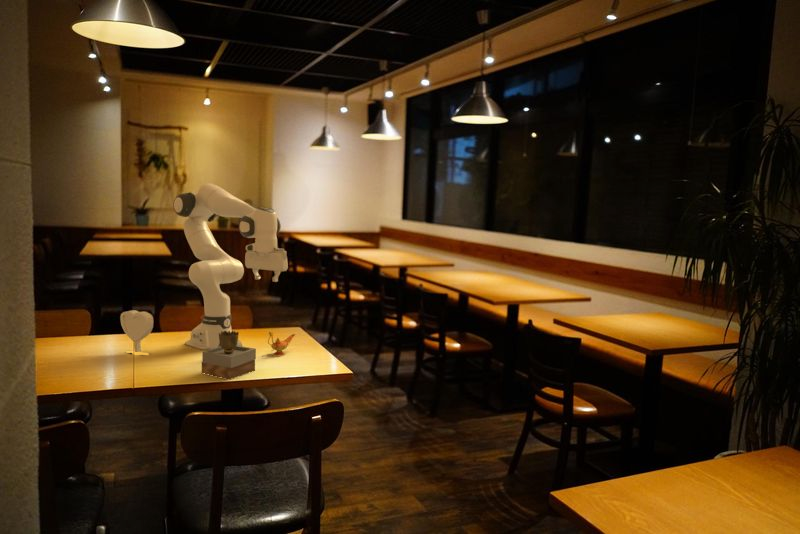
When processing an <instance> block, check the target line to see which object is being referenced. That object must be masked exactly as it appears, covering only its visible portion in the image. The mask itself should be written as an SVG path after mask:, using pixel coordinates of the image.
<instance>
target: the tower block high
mask: <svg viewBox="0 0 800 534" xmlns="http://www.w3.org/2000/svg"><path fill="white" fill-rule="evenodd" d="M233 350H234V351H233V353H230V354H227V353H224V349H223V348H222V347H221V346H220V347H216V348H213V349H206V350H204V351H202V352H201V353H202V361H201V363H202V362H203V363H207V364H212V365H218V366H223V367H228V368H233V367H236V366H238V365H241V364H244V363H247V362H249V361H252V360H255V361H256V359H257V351H256V350H257V348H254V347H249V346H243V345H242V346H236V347H235V348H234V349H233Z"/></svg>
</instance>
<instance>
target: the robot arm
mask: <svg viewBox="0 0 800 534" xmlns="http://www.w3.org/2000/svg"><path fill="white" fill-rule="evenodd" d="M172 204H173V210H174V212H175V213H176V215H177V216H180V217H182V218H186V219H185V220H184V222H183V225H182V227H183V232H184V235H185V238H186V240H187V243H188V245H189V247H190V249H191V251H192V253H193V255H194V256H195V258H196V259H198V260H199V261H197V262H194V263H193V264H191V265H190V267H189V270H188V278H189V280H190V281H191V283H192V284H193V285H195V286H196V287H197V288H198V289H199V291H200V293H201V295H202V297H203V304H204V307H203V308H204V309H203V310H204V311H203V312H204V314H203V315H201V316H199V317H200V319H201V323H200V324H198V325H197V326H196V327H194V328H193V329H192V330H191V332H190V337H189V338H190V339H187V340H185V342H184V345H187V346H190V347H193V348H195V349H198V350H204V351H206V350H210V349H213V348H216V347H218V345H219V342H220V341H219V333H220V334H221V331H222V332H224V331H227V332H228V331H230V333H231V332H232V331H233V330H232V325H231V323H232V313H231V298H230V296H229V295H228V294H227V293H225V292H223V291H222V290H221V288H220V287H221V286H220V285H224V284H230V283H234V282H237V281H239V280H241V279H242V278H243V276H244V274H245V268H244V265H245V267H246V269H252V272H253V274H254V280H260V279H261V275H260V274H259V270H265V271H273V272H274V276H272V279H271V280H272V282H275V283H277V282H279V276H280V274H281V272H287V270H288V268H289V266H288V265H289V264H288V262H289V261H288V256H287V251H286V250H285V249H284V248H282V247H281V248H279V247H278V238H277V235H278V234H279V233H280V231H281V227H282V224H281V222H280V220H279V217H277V213H276V210H274V209H273V208H271V207H265V206H262V207H255V206H253V205H252V204H249V203H247V202H245V201H244V200H242V199H240V198H239V197H236V196H234V195H233V194H231V193H230V192H228V191H227V190H225V189H223V188H222V187H221V186H219V185H216V184H215V183H214V184H213V183H212V182H211V183H210V182H209V183H204V184H202V185H201V186H200V187H199V189H198V191H197V193H193V192H191V191H190V192H185V193H181V194H178V195H176V196H175V198H174V200H173V203H172ZM217 216H219V217H223V218H240V220H239V222H238V230H239V233H240V234H241V236H243V237H244V238H247V239H253V238H254V239H255V240H254V241H255V242H254V243H250V244H247V245H246V246H245V251H246V252H245V256H244V258H245V259H244V265H243V263H242V262H241V261H240V260H238V259H237V258H234V257H232V256H230V255H229V254H228V253H227V252H225V251H224V250H223V249H222V248H221V247H220V245H219V244H218V243H217V241H216V239H215V236H214V235H213V233H212V231H211V230H210V228H209V226H208V222H209V223H210V222H213V221H214V220H215V218H217ZM200 319H199V320H200Z"/></svg>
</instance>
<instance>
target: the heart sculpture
mask: <svg viewBox="0 0 800 534" xmlns="http://www.w3.org/2000/svg"><path fill="white" fill-rule="evenodd" d="M119 319H120V325H121V327H122V329H123V332H124V333H125V334H126V336H127V338H129V339H130V340H131V341H132V342H133V344H134V345H133V347H134V350H135V352H141V350H142V349H141V341H143V339H144V338H147V337H148V336H149V335H150V334H151V332H152V331H153V328H154V317H153V315H152V314H151V313H149V312H148V311H138V310H135V309H134V310H133V309H132V310H128V311H123V312H122V313H120V317H119Z"/></svg>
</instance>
